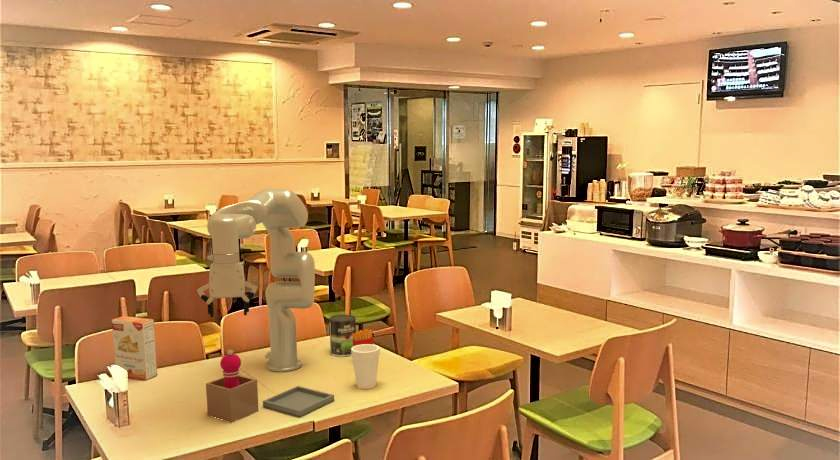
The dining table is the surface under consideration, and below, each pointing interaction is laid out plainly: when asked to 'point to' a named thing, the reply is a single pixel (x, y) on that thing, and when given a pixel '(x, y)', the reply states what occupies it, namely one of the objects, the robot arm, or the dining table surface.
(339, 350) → the coffee can
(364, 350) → the foam cup
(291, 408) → the tray
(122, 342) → the cracker box
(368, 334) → the french fries
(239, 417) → the open box
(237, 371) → the pepper mill
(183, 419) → the dining table surface
